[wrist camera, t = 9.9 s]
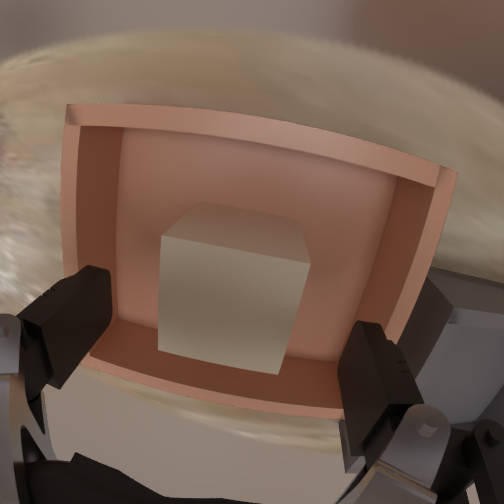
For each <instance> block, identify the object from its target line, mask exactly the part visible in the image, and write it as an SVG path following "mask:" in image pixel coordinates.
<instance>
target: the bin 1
mask: <svg viewBox="0 0 504 504" xmlns="http://www.w3.org/2000/svg"><path fill="white" fill-rule="evenodd" d="M457 175H458V172H456V171H454V170H451V169H449V168H446V167H443V166H441V165H438V164H436V163H433V162H430V161H427V160H425V159H422V158H419V157H416V156H413V155H410V154H407V153H404V152H401V151H398V150H395V149H392V148H389V147H386V146H382V145H379V144H376V143H372V142H369V141H365V140H362V139H358V138H354V137H351V136H347V135H343V134H339V133H335V132H331V131H327V130H323V129H319V128H314V127H310V126H305V125H300V124H296V123H291V122H286V121H280V120H275V119H270V118H264V117H258V116H252V115H245V114H239V113H232V112H224V111H216V110H208V109H198V108H188V107H177V106H163V105H145V104H67V108H66V116H65V125H64V135H63V147H62V163H61V235H62V251H63V264H64V274H65V278H67V277H69V276H72V275H75V274H76V273H77V272H78V271H80V270H81V269H82V268H84V267H85V266H86V265H92V266H96V267H100V268H104V269H108V270H109V271H110V274H111V289H112V306H113V314H112V319H111V322H110V325H109V326H108V328H107V329H106V330H105V332H104V333H103V334H102V335H101V337H100V338H99V339H98V340H97V342H96V343H95V344H94V345H93V347H92V348H91V349H90V351H89V352H88V353H87V354H86V356H85V357H84V358H83V360H82V361H81V362H80V363H81V364H84V365H86V366H89V367H92V368H94V369H97V370H100V371H103V372H106V373H108V374H111V375H114V376H117V377H120V378H123V379H126V380H130V381H133V382H136V383H139V384H143V385H146V386H149V387H153V388H156V389H160V390H164V391H167V392H171V393H175V394H179V395H183V396H187V397H191V398H195V399H200V400H204V401H209V402H214V403H219V404H224V405H229V406H234V407H240V408H245V409H251V410H258V411H264V412H271V413H279V414H287V415H295V416H305V417H316V418H329V419H345V416H344V410H343V404H342V398H341V393H340V387H339V381H338V376H337V369H338V363H339V359H340V356H341V354H342V352H343V349H344V347H345V345H346V342H347V340H348V337H349V335H350V332H351V330H352V327H353V325H354V323H355V322H356V321H357V320H360V321H367V322H374V323H379V324H380V325H381V326H382V329H383V331H384V333H385V335H386V337H387V340H392V341H393V342H394V343H395V344H397V342H398V340H399V338H400V336H401V334H402V332H403V330H404V327H405V325H406V323H407V321H408V319H409V317H410V314H411V312H412V310H413V308H414V305H415V303H416V301H417V298H418V296H419V293H420V291H421V288H422V286H423V283H424V281H425V278H426V276H427V273H428V270H429V268H430V265H431V262H432V260H433V257H434V254H435V251H436V248H437V245H438V242H439V239H440V236H441V233H442V230H443V227H444V223H445V220H446V217H447V213H448V210H449V206H450V202H451V199H452V195H453V191H454V187H455V183H456V179H457ZM200 201H201V202H207V203H213V204H219V205H224V206H230V207H236V208H241V209H247V210H252V211H257V212H263V213H268V214H273V215H278V216H283V217H288V218H293V219H298V220H300V222H301V226H302V230H303V234H304V238H305V243H306V247H307V251H308V255H309V259H310V263H311V264H310V268H309V272H308V275H307V279H306V283H305V286H304V290H303V294H302V297H301V301H300V304H299V308H298V311H297V315H296V318H295V321H294V325H293V328H292V332H291V335H290V338H289V342H288V345H287V348H286V351H285V354H284V358H283V361H282V364H281V367H280V370H279V373H278V375H276V374H270V373H264V372H258V371H252V370H246V369H241V368H236V367H230V366H225V365H220V364H216V363H211V362H206V361H202V360H197V359H193V358H188V357H184V356H180V355H176V354H172V353H168V352H164V351H160V350H158V296H159V269H160V251H161V235H163V234H164V233H165V232H166V231H167V230H168V229H169V228H170V227H171V226H172V225H174V224H175V223H176V222H177V221H178V220H179V219H180V218H181V217H183V216H184V215H185V214H186V213H187V212H188V211H189V210H191V209H192V208H193V207H194V206H195V205H196V204H197V203H199V202H200Z"/></svg>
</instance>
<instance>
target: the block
mask: <svg viewBox="0 0 504 504" xmlns="http://www.w3.org/2000/svg"><path fill="white" fill-rule="evenodd" d="M310 264H311V263H310V259H309V255H308V251H307V247H306V243H305V238H304V234H303V230H302V226H301V222H300V220H298V219H293V218H288V217H283V216H278V215H273V214H268V213H263V212H257V211H252V210H247V209H241V208H236V207H230V206H224V205H219V204H213V203H207V202H201V201H200V202H199V203H197V204H196V205H195V206H194V207H193V208H192V209H191V210H189V211H188V212H187V213H186V214H185V215H184V216H183V217H181V218H180V219H179V220H178V221H177V222H176V223H175V224H174V225H172V226H171V227H170V228H169V229H168V230H167V231H166V232H165V233H164V234H163V235H161V251H160V269H159V296H158V350H160V351H164V352H168V353H172V354H176V355H180V356H184V357H188V358H193V359H197V360H202V361H206V362H211V363H216V364H220V365H225V366H230V367H236V368H241V369H246V370H252V371H258V372H264V373H270V374H276V375H278V373H279V370H280V367H281V364H282V361H283V358H284V354H285V351H286V348H287V345H288V342H289V338H290V335H291V332H292V328H293V325H294V321H295V318H296V315H297V311H298V308H299V304H300V301H301V297H302V294H303V290H304V286H305V283H306V279H307V275H308V272H309V268H310Z"/></svg>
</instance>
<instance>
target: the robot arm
mask: <svg viewBox="0 0 504 504" xmlns="http://www.w3.org/2000/svg"><path fill="white" fill-rule="evenodd" d="M112 314H113V306H112V289H111V274H110V271H109V270H108V269H104V268H100V267H96V266H92V265H86V266H85V267H84V268H82V269H81V270H80V271H78V272H77V273H76V274H75V275H72V276H69V277H67V278H64V279H62V280H59V281H58V282H57V283H56V284H54V285H53V286H52V287H51V288H50V290H49V289H48V290H47V291H46V292H44V293H43V295H42V296H39V297H38V298H37V299H36V300H34V301H33V302H32V303H31V304H30V305H28V306H27V307H26V308H25V309H24V310H22V311H21V312H20V313H19V314H18V315H17V316H14V315H11V314H0V504H259V503H249V502H243V501H235V500H229V499H224V498H170V497H165V496H162V495H160V494H158V493H156V492H154V491H152V490H151V489H149V488H147V487H145V486H143V485H142V484H140V483H138V482H137V481H135V480H133V479H132V478H130V477H129V476H127V475H125V474H124V473H122V472H121V471H119V470H117V469H114V468H112V467H109V466H107V465H104V464H101V463H99V462H97V461H95V460H92V459H90V458H88V457H85V456H83V455H81V454H79V453H76V452H75V454H74V456H73V458H72V460H71V461H70V462H68V461H60V460H57V458H56V455H55V453H54V451H53V448H52V444H51V440H50V434H49V427H48V421H47V413H46V404H45V395H44V392H43V388H44V386H45V385H46V384H49V385H51V386H53V387H55V388H57V389H61V387H62V386H63V384H64V383H65V382H66V381H67V379H68V378H69V377H70V375H71V374H72V373H73V371H74V370H75V369H76V367H77V366H78V365H79V363H80V362H81V361H82V360H83V358H84V357H85V356H86V354H87V353H88V352H89V351H90V349H91V348H92V347H93V345H94V344H95V343H96V342H97V340H98V339H99V338H100V337H101V335H102V334H103V333H104V332H105V330H106V329H107V328H108V326H109V325H110V322H111V319H112ZM410 372H411V370H410V368H409V366H408V364H406V359H405V357H404V355H403V353H402V351H401V350H400V349H399V348H398V346H397V345H396V344H395V343H394V342H393V341H392V340H387V337H386V335H385V333H384V331H383V329H382V326H381V325H380V324H379V323H374V322H367V321H360V320H357V321H356V322H355V323H354V325H353V327H352V330H351V332H350V335H349V337H348V340H347V342H346V345H345V347H344V349H343V352H342V354H341V356H340V359H339V363H338V369H337V376H338V381H339V387H340V393H341V398H342V404H343V410H344V416H345V422H346V429H347V435H348V442H349V449H350V456H365V462H366V463H365V464H364V465H363V466H362V468H361V469H360V470H359V472H358V473H357V475H356V476H355V477H354V479H353V480H352V481H351V483H350V484H349V485H348V487H347V488H346V489H345V490H344V492H343V493H342V494H341V496H340V497H339V498H338V499H337V501H336V502H335V503H334V504H469V500H468V496H467V492H466V489H467V488H468V487H470V486H471V485H472V484H473V483H475V487H476V490H477V494H478V498H479V501H480V504H504V428H503V427H502V426H501V425H500V424H499V423H497V422H495V421H493V420H489V419H484V420H481V421H479V422H478V423H477V424H476V425H475V427H474V428H473V429H472V430H471V431H466V430H462V429H457V428H452V427H450V423H449V421H448V419H447V417H446V416H445V415H444V414H443V413H442V412H441V411H440V410H438V409H437V408H435V407H433V406H430V405H426V404H425V403H424V400H423V398H422V396H421V393H420V391H419V389H418V386H417V384H416V382H415V379H414V377H413V375H412V373H410Z"/></svg>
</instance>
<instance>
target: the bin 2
mask: <svg viewBox="0 0 504 504" xmlns="http://www.w3.org/2000/svg"><path fill="white" fill-rule="evenodd" d="M396 345H397V346H398V348H399V349H400V350H401V351H402V353H403V355H404V357H405V359H406V364H408V366H409V368H410V370H411V372H410V373H412V375H413V377H414V379H415V382H416V384H417V386H418V389H419V391H420V393H421V396H422V398H423V400H424V403H425V404H426V405H430V406H433V407H435V408H437V409H438V410H440V411H441V412H442V413H443V414H444V415H445V416H446V417H447V419H448V421H449V423H450V427H452V428H457V429H462V430H466V431H471V430H472V429H473V428H474V427H475V425H476V424H477V423H478V422H479V421H481V420H484V419H489V420H493V421H495V422H497V423H499V424H500V425H501V426H502V427H503V428H504V284H502V283H497V282H493V281H489V280H485V279H481V278H476V277H472V276H468V275H463V274H459V273H455V272H450V271H446V270H441V269H437V268H433V267H430V268H429V270H428V273H427V276H426V278H425V281H424V283H423V286H422V288H421V291H420V293H419V296H418V298H417V301H416V303H415V305H414V308H413V310H412V312H411V314H410V317H409V319H408V321H407V323H406V325H405V327H404V330H403V332H402V334H401V336H400V338H399V340H398V342H397V344H396ZM339 430H340V437H341V444H342V452H343V460H344V467H345V473H358V472H359V470H360V469H361V468H362V466H363V465H364V464H365V463H366V462H365V456H350V449H349V442H348V435H347V429H346V422H345V419H341V421H340V422H339Z"/></svg>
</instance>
